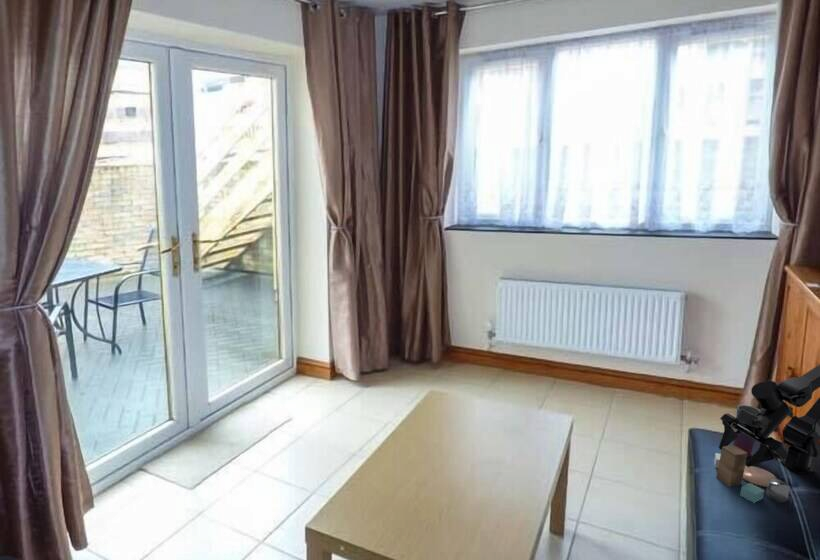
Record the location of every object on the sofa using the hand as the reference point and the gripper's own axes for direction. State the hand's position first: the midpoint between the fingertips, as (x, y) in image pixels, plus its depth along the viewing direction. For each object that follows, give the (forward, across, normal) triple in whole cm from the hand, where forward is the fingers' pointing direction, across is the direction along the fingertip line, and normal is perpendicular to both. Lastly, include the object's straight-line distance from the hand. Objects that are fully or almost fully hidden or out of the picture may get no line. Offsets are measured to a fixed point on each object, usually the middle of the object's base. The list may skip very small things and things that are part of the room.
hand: (732, 457), depth 161 cm
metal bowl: (0, +10, +10) cm, 14 cm away
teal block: (+6, +8, +5) cm, 11 cm away
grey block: (+2, -7, +9) cm, 11 cm away
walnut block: (+5, 0, +6) cm, 8 cm away
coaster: (-2, +1, +13) cm, 13 cm away
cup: (-6, -11, +18) cm, 22 cm away
